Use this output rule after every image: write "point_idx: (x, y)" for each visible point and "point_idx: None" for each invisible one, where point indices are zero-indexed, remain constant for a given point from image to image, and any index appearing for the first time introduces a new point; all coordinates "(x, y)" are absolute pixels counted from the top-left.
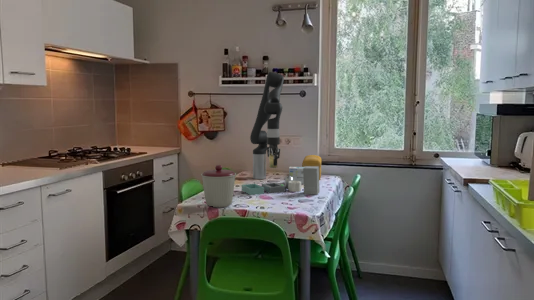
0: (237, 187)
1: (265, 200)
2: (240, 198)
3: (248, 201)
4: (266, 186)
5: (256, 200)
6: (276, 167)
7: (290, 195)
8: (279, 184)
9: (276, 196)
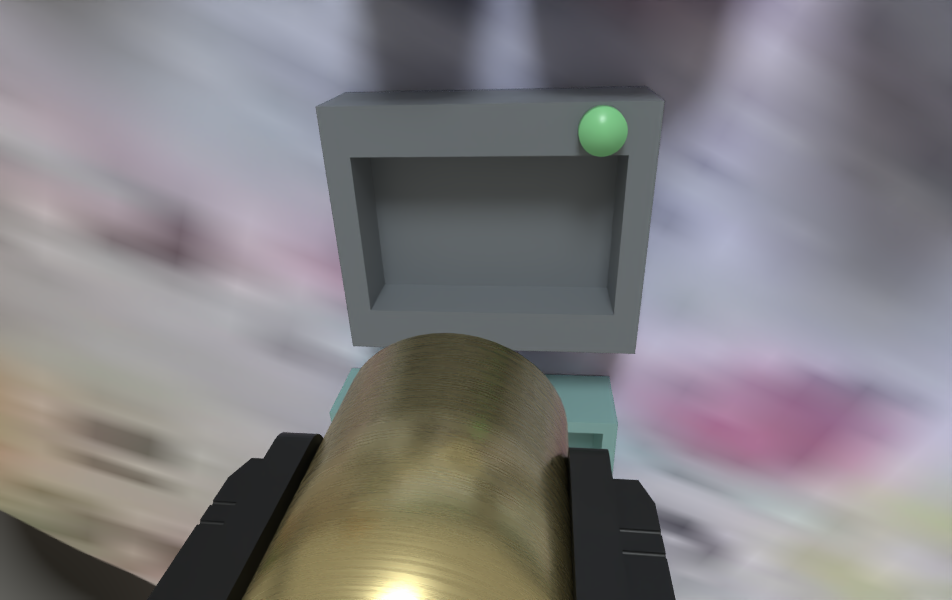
0: (205, 465)
1: (899, 478)
2: (675, 596)
3: (821, 591)
4: (521, 347)
5: (836, 535)
6: (558, 395)
7: (899, 120)
8: (490, 129)
9: (817, 313)
